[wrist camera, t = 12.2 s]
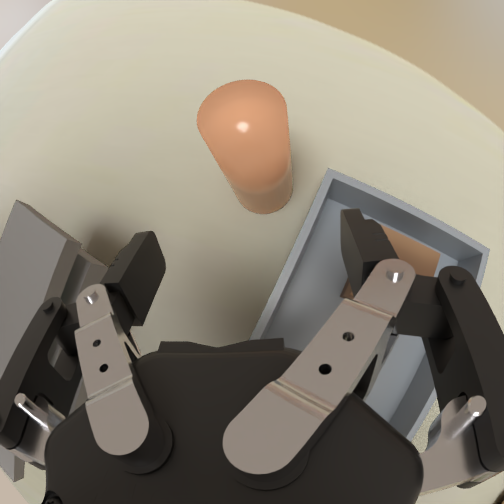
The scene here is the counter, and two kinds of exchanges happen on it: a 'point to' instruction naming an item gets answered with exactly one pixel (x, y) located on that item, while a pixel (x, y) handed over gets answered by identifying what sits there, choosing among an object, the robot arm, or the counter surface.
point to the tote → (335, 276)
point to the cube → (406, 257)
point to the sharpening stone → (37, 289)
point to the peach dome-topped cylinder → (250, 142)
